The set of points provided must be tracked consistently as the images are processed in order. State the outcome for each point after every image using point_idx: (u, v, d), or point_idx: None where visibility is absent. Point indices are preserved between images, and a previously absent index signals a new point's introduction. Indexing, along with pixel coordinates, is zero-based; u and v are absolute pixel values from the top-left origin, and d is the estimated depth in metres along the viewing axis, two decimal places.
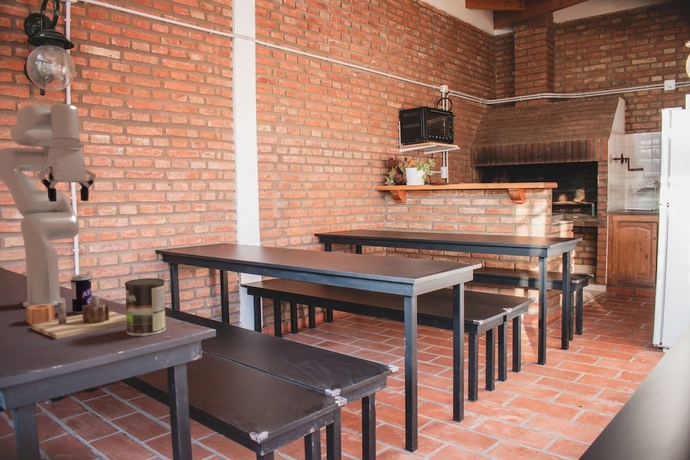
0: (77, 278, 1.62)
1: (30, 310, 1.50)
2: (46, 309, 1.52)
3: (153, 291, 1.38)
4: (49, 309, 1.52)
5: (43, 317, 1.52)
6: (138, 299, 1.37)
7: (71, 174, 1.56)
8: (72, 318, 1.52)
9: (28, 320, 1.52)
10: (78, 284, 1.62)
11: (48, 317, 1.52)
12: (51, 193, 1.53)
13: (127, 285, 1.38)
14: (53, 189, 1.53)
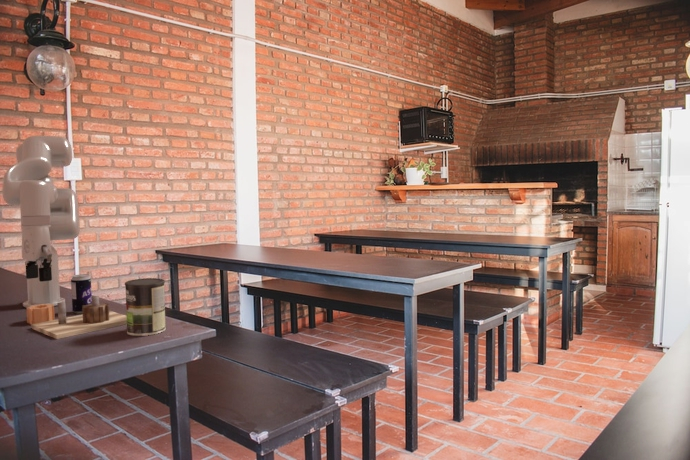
0: (77, 278, 1.62)
1: (30, 310, 1.50)
2: (46, 309, 1.52)
3: (153, 291, 1.38)
4: (49, 309, 1.52)
5: (43, 317, 1.52)
6: (138, 299, 1.37)
7: None
8: (72, 318, 1.52)
9: (28, 320, 1.52)
10: (78, 284, 1.62)
11: (48, 317, 1.52)
12: None
13: (127, 285, 1.38)
14: (49, 268, 1.50)
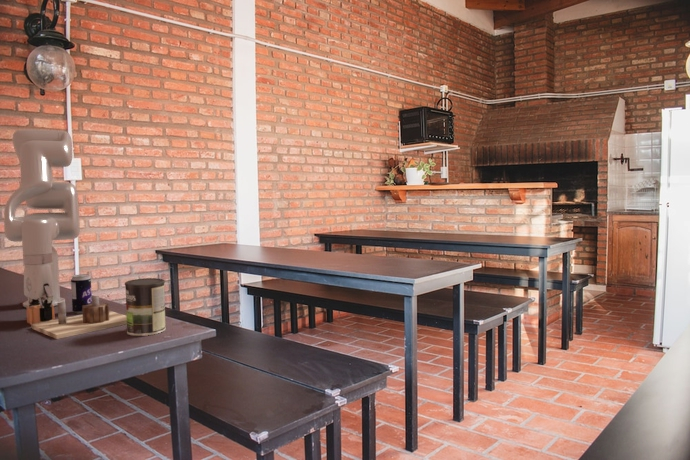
0: (77, 278, 1.62)
1: (30, 310, 1.50)
2: None
3: (153, 291, 1.38)
4: None
5: None
6: (138, 299, 1.37)
7: None
8: (72, 318, 1.52)
9: (28, 320, 1.52)
10: (78, 284, 1.62)
11: None
12: None
13: (127, 285, 1.38)
14: (50, 307, 1.52)
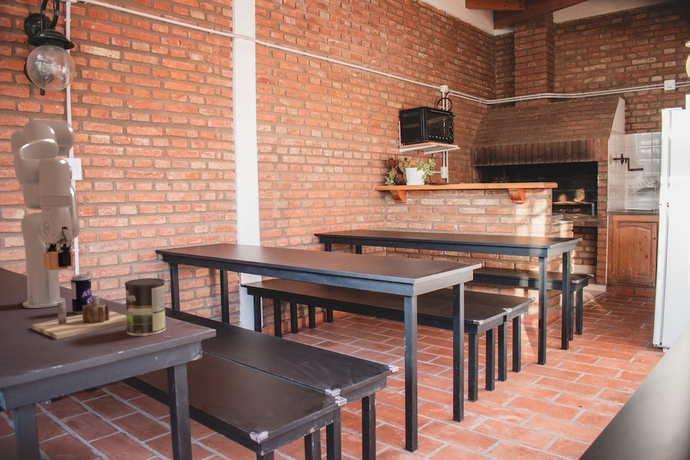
0: (77, 278, 1.62)
1: (47, 255, 1.42)
2: None
3: (153, 291, 1.38)
4: None
5: None
6: (138, 299, 1.37)
7: None
8: (72, 318, 1.52)
9: (45, 266, 1.43)
10: (78, 284, 1.62)
11: None
12: None
13: (127, 285, 1.38)
14: (69, 253, 1.44)
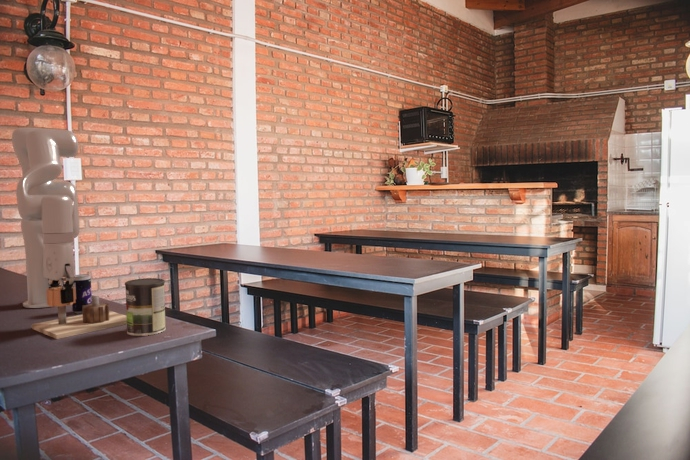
0: (77, 278, 1.62)
1: (50, 292, 1.42)
2: None
3: (153, 291, 1.38)
4: None
5: None
6: (138, 299, 1.37)
7: None
8: (72, 318, 1.52)
9: (48, 302, 1.44)
10: (78, 284, 1.62)
11: None
12: None
13: (127, 285, 1.38)
14: (71, 289, 1.44)
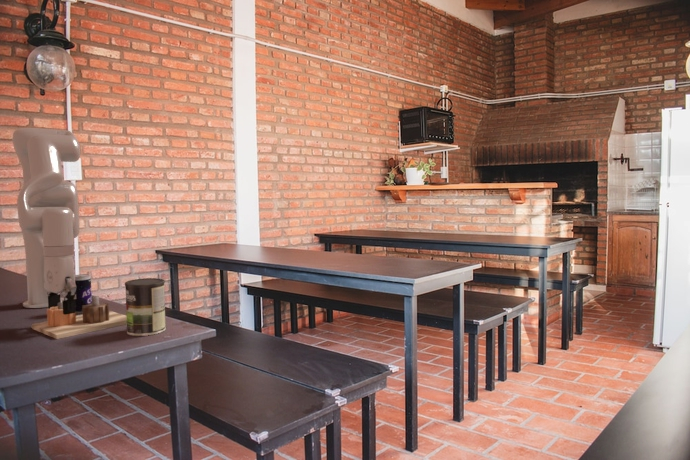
0: (77, 278, 1.62)
1: (51, 311, 1.43)
2: None
3: (153, 291, 1.38)
4: None
5: (64, 319, 1.45)
6: (138, 299, 1.37)
7: None
8: None
9: (48, 322, 1.45)
10: (78, 284, 1.62)
11: (69, 319, 1.45)
12: None
13: (127, 285, 1.38)
14: (73, 300, 1.44)
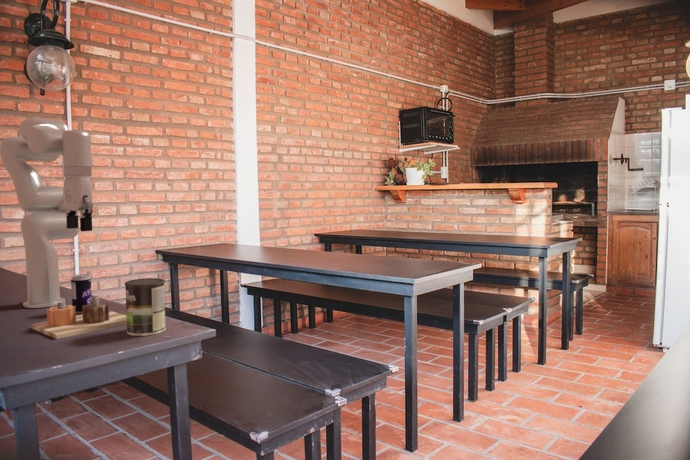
0: (77, 278, 1.62)
1: (51, 311, 1.43)
2: (67, 310, 1.45)
3: (153, 291, 1.38)
4: (70, 310, 1.45)
5: (64, 319, 1.45)
6: (138, 299, 1.37)
7: None
8: None
9: (48, 322, 1.45)
10: (78, 284, 1.62)
11: (69, 319, 1.45)
12: None
13: (127, 285, 1.38)
14: (90, 218, 1.52)
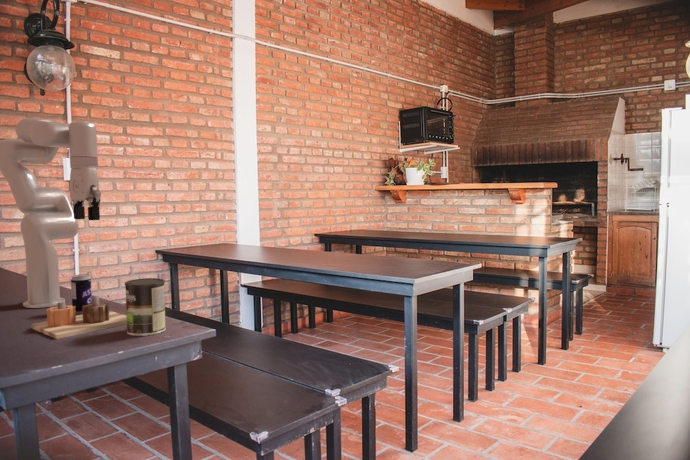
0: (77, 278, 1.62)
1: (51, 311, 1.43)
2: (67, 310, 1.45)
3: (153, 291, 1.38)
4: (70, 310, 1.45)
5: (64, 319, 1.45)
6: (138, 299, 1.37)
7: None
8: None
9: (48, 322, 1.45)
10: (78, 284, 1.62)
11: (69, 319, 1.45)
12: None
13: (127, 285, 1.38)
14: (98, 208, 1.54)
